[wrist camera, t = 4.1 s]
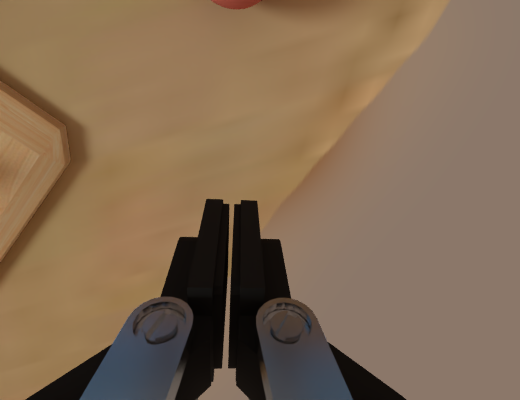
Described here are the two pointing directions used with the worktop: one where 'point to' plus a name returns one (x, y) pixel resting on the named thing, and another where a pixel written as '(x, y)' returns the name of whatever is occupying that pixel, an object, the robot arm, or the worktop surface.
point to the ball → (236, 3)
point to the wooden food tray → (26, 161)
